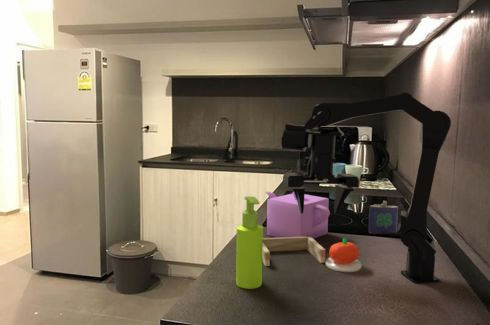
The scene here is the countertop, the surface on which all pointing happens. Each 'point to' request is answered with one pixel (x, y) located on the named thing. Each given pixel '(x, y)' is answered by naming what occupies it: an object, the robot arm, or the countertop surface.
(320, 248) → the wooden frame
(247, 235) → the soap dispenser
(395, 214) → the flask
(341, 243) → the pumpkin
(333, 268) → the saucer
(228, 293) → the countertop surface
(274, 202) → the teapot
